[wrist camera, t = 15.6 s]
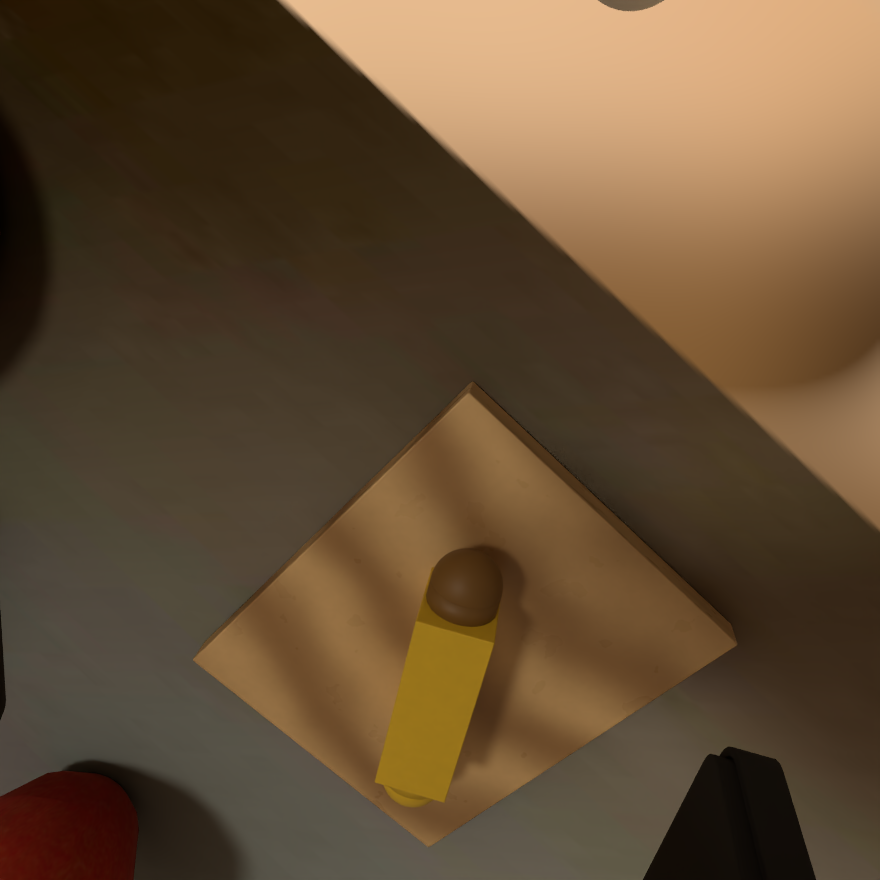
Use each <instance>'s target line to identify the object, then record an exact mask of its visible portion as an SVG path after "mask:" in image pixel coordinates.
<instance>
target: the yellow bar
mask: <svg viewBox="0 0 880 880" xmlns="http://www.w3.org/2000/svg"><path fill="white" fill-rule="evenodd" d="M502 593H503V578H502V575H501V572H500V569H499V568H498V566H497V564H496V563H495V561H494V560H493V559H492V558H491V557H489V556H488V555H487V554H485V553H484V552H482V551H479V550H476V549H472V548H462V549H456V550H453V551H451V552H449V553H448V554H446V555H445V556H443V557H442V558H441V559H440V560H439V561H438V563H437V564H436V566H435V567H432V568H431V572H430V575H429V578H428V582H427V585H426V588H425V592H424V595H423V598H422V602H421V605H420V608H419V612H418V615H417V618H416V622H415V626H414V630H413V633H412V637H411V641H410V645H409V649H408V653H407V657H406V661H405V665H404V669H403V673H402V676H401V680H400V684H399V688H398V692H397V696H396V700H395V704H394V708H393V712H392V716H391V719H390V723H389V727H388V731H387V735H386V739H385V743H384V747H383V751H382V755H381V759H380V762H379V766H378V770H377V774H376V778H375V783H378V784H382V785H384V788H385V790H386V792H387V793H388V795H389V796H390V797H391V798H392V799H393V800H394V801H395V802H397V803H398V804H400V805H402V806H405V807H421V806H424V805H426V804H428V803H430V802H431V801H433V800H437V801H440V802H443V803H444V802H445V800H446V797H447V794H448V791H449V787H450V784H451V781H452V778H453V775H454V771H455V768H456V765H457V762H458V759H459V756H460V752H461V749H462V746H463V743H464V740H465V737H466V733H467V730H468V727H469V724H470V721H471V717H472V714H473V711H474V708H475V705H476V702H477V698H478V695H479V692H480V689H481V686H482V682H483V679H484V676H485V673H486V670H487V667H488V663H489V660H490V657H491V654H492V651H493V648H494V644H495V638H496V630H497V623H498V616H499V608H500V601H501V597H502Z"/></svg>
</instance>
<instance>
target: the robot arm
mask: <svg viewBox="0 0 880 880" xmlns="http://www.w3.org/2000/svg"><path fill="white" fill-rule="evenodd" d="M5 704H6V695H5V678H4V662H3V645H2V628H1V612H0V719H1V717H2V714H3V712H4V709H5ZM643 880H816V878H815V875H814V871H813V868H812V865H811V861H810V858H809V855H808V851H807V848H806V845H805V842H804V838H803V835H802V832H801V828H800V825H799V822H798V818H797V815H796V812H795V808H794V805H793V802H792V799H791V795H790V792H789V789H788V785H787V782H786V779H785V775H784V772H783V770H782V767H781V765H780V763H779V762H778V761H777V760H776V759H773V758H769V757H766V756H762V755H759V754H755V753H751V752H748V751H744V750H741V749H737V748H734V747H727V748H725V749H724V750H723V752H722V753H721V754H720V756H717V755H713V754H709V755H708V756H707V757H706V758H705V760H704V762H703V763H702V765H701V767H700V769H699V771H698V773H697V775H696V777H695V779H694V781H693V783H692V785H691V787H690V789H689V791H688V793H687V795H686V797H685V799H684V801H683V803H682V804H681V806H680V808H679V810H678V812H677V814H676V816H675V818H674V820H673V822H672V824H671V826H670V828H669V830H668V832H667V834H666V836H665V838H664V840H663V842H662V843H661V845H660V847H659V849H658V851H657V853H656V855H655V857H654V859H653V861H652V863H651V865H650V867H649V869H648V871H647V873H646V875H645V877H644V879H643Z"/></svg>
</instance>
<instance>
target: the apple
mask: <svg viewBox="0 0 880 880" xmlns="http://www.w3.org/2000/svg"><path fill="white" fill-rule="evenodd" d="M138 832H139V827H138V818H137V812H136V810H135V808H134V806H133V804H132V803H131V801H130V799H129V797H128V795H127V793H126V792H125V791H124V790H123V788H122V787H121V786H120V785H119V784H118V783H116V782H115V781H113V780H112V779H110V778H109V777H106V776H103V775H100V774H96V773H85V772H74V771H60V772H52V773H47V774H45V775H43V776H41V777H39V778H37V779H35V780H33V781H31V782H29V783H27V784H25V785H23V786H21V787H19V788H17V789H15V790H13V791H11V792H9V793H7V794H5V795H3V796H1V797H0V880H133V878H134V869H135V859H136V850H137V841H138Z"/></svg>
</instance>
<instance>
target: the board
mask: <svg viewBox="0 0 880 880" xmlns="http://www.w3.org/2000/svg"><path fill="white" fill-rule="evenodd" d="M462 548H472V549H476V550H479V551H482V552H484V553H485V554H487V555H488V556H489V557H491V558H492V559H493V560H494V561H495V563H496V564H497V566H498V568H499V569H500V572H501V575H502V578H503V593H502V597H501V601H500V608H499V616H498V623H497V630H496V638H495V644H494V648H493V651H492V654H491V657H490V660H489V663H488V667H487V670H486V673H485V676H484V679H483V682H482V686H481V689H480V692H479V695H478V698H477V702H476V705H475V708H474V711H473V714H472V717H471V721H470V724H469V727H468V730H467V733H466V737H465V740H464V743H463V746H462V749H461V752H460V756H459V759H458V762H457V765H456V768H455V771H454V775H453V778H452V781H451V784H450V787H449V791H448V794H447V797H446V800H445V802H444V803H443V802H440V801H437V800H433V801H431V802H430V803H428V804H426V805H424V806H421V807H405V806H402V805H400V804H398V803H397V802H395V801H394V800H393V799H392V798H391V797H390V796H389V795H388V793H387V792H386V790H385V788H384V785H382V784H378V783H375V778H376V774H377V770H378V766H379V762H380V759H381V755H382V751H383V747H384V743H385V739H386V735H387V731H388V727H389V723H390V719H391V716H392V712H393V708H394V704H395V700H396V696H397V692H398V688H399V684H400V680H401V676H402V673H403V669H404V665H405V661H406V657H407V653H408V649H409V645H410V641H411V637H412V633H413V630H414V626H415V622H416V618H417V615H418V612H419V608H420V605H421V602H422V598H423V595H424V592H425V588H426V585H427V582H428V578H429V575H430V572H431V568H432V567H435V566H436V564H437V563H438V561H439V560H440V559H441V558H442V557H443V556H445V555H446V554H448V553H449V552H451V551H453V550H456V549H462ZM736 645H737V641H736V638H735V635H734V632H733V629H732V626H731V624H730V623H729V622H728V621H727V620H726V619H725V618H724V617H723V616H722V615H721V614H720V613H719V612H718V611H717V610H715V609H714V608H713V607H712V606H711V605H710V604H709V603H708V602H707V601H706V600H705V599H704V598H703V597H702V596H701V595H700V594H698V593H697V592H696V591H695V590H694V589H693V588H692V587H691V586H690V585H689V584H688V583H687V582H686V581H685V580H684V579H683V578H681V577H680V576H679V575H678V574H677V573H676V572H675V571H674V570H673V569H672V568H671V567H670V566H669V565H668V564H667V563H666V562H664V561H663V560H662V559H661V558H660V557H659V556H658V555H657V554H656V553H655V552H654V551H653V550H652V549H651V548H650V547H649V546H647V545H646V544H645V543H644V542H643V541H642V540H641V539H640V538H639V537H638V536H637V535H636V534H635V533H634V532H633V531H632V530H630V529H629V528H628V527H627V526H626V525H625V524H624V523H623V522H622V521H621V520H620V519H619V518H618V517H617V516H616V515H614V514H613V513H612V512H611V511H610V510H609V509H608V508H607V507H606V506H605V505H604V504H603V503H602V502H601V501H600V500H599V499H597V498H596V497H595V496H594V495H593V494H592V493H591V492H590V491H589V490H588V489H587V488H586V487H585V486H584V485H583V484H582V483H580V482H579V481H578V480H577V479H576V478H575V477H574V476H573V475H572V474H571V473H570V472H569V471H568V470H567V469H566V468H565V467H563V466H562V465H561V464H560V463H559V462H558V461H557V460H556V459H555V458H554V457H553V456H552V455H551V454H550V453H549V452H548V451H546V450H545V449H544V448H543V447H542V446H541V445H540V444H539V443H538V442H537V441H536V440H535V439H534V438H533V437H532V436H531V435H529V434H528V433H527V432H526V431H525V430H524V429H523V428H522V427H521V426H520V425H519V424H518V423H517V422H516V421H515V420H514V419H512V418H511V417H510V416H509V415H508V414H507V413H506V412H505V411H504V410H503V409H502V408H501V407H500V406H499V405H498V404H496V403H495V402H494V401H493V400H492V399H491V398H490V397H489V396H488V395H487V394H486V393H485V392H484V391H483V390H482V389H481V388H479V387H478V386H477V385H476V384H475V383H474V382H471V383H470V384H469V385H468V386H467V387H466V388H465V389H464V390H463V391H462V392H461V393H460V394H458V395H457V396H456V397H455V398H454V399H453V400H452V401H451V402H450V403H449V404H448V405H447V406H446V407H445V408H444V409H443V410H442V411H441V412H440V413H439V414H438V415H437V416H436V417H435V418H434V419H433V420H432V421H431V422H430V423H429V424H428V425H427V426H426V427H425V428H424V429H423V430H422V431H421V432H420V433H418V434H417V435H416V436H415V437H414V438H413V439H412V440H411V441H410V442H409V443H408V444H407V445H406V446H405V447H404V448H403V449H402V450H401V451H400V452H399V453H398V454H397V455H396V456H395V457H394V458H393V459H392V460H391V461H390V462H389V463H388V464H387V465H386V466H385V467H384V468H383V469H382V470H381V471H379V472H378V473H377V474H376V475H375V476H374V477H373V478H372V479H371V480H370V481H369V482H368V483H367V484H366V485H365V486H364V487H363V488H362V489H361V490H360V491H359V492H358V493H357V494H356V495H355V496H354V497H353V498H352V499H351V500H350V501H349V502H348V503H347V504H346V505H345V506H344V507H343V508H342V509H341V510H339V511H338V512H337V513H336V514H335V515H334V516H333V517H332V518H331V519H330V520H329V521H328V522H327V523H326V524H325V525H324V526H323V527H322V528H321V529H320V530H319V531H318V532H317V533H316V534H315V535H314V536H313V537H312V538H311V539H310V540H309V541H308V542H307V543H306V544H305V545H304V546H303V547H302V548H300V549H299V550H298V551H297V552H296V553H295V554H294V555H293V556H292V557H291V558H290V559H289V560H288V561H287V562H286V563H285V564H284V565H283V566H282V567H281V568H280V569H279V570H278V571H277V572H276V573H275V574H274V575H273V576H272V577H271V578H270V579H269V580H268V581H267V582H266V583H265V584H264V585H263V586H262V587H260V588H259V589H258V590H257V591H256V592H255V593H254V594H253V595H252V596H251V597H250V598H249V599H248V600H247V601H246V602H245V603H244V604H243V605H242V606H241V607H240V608H239V609H238V610H237V611H236V612H235V613H234V614H233V615H232V616H231V617H230V618H229V619H228V620H227V621H226V622H225V623H224V624H223V625H222V626H220V627H219V628H218V629H217V630H216V631H215V632H214V633H213V634H212V635H211V636H210V637H209V638H208V639H207V640H206V641H205V642H204V644H203V645H202V647H201V648H200V650H199V651H198V653H197V654H196V655H195V657H194V658H193V661H194V662H196V663H197V664H198V665H199V666H201V667H202V668H203V669H204V670H206V671H207V672H208V673H209V674H211V675H212V676H213V677H215V678H216V679H217V680H218V681H220V682H221V683H222V684H223V685H225V686H226V687H227V688H228V689H230V690H231V691H232V692H233V693H235V694H236V695H237V696H238V697H240V698H241V699H242V700H244V701H245V702H246V703H247V704H249V705H250V706H251V707H252V708H254V709H255V710H256V711H257V712H259V713H260V714H261V715H262V716H264V717H265V718H266V719H267V720H269V721H270V722H271V723H273V724H274V725H275V726H276V727H278V728H279V729H280V730H281V731H283V732H284V733H285V734H286V735H288V736H289V737H290V738H291V739H293V740H294V741H295V742H296V743H298V744H299V745H300V746H301V747H303V748H304V749H305V750H307V751H308V752H309V753H310V754H312V755H313V756H314V757H315V758H317V759H318V760H319V761H320V762H322V763H323V764H324V765H325V766H327V767H328V768H329V769H330V770H332V771H333V772H334V773H336V774H337V775H338V776H339V777H341V778H342V779H343V780H344V781H346V782H347V783H348V784H349V785H351V786H352V787H353V788H354V789H356V790H357V791H358V792H359V793H361V794H362V795H363V796H365V797H366V798H367V799H368V800H370V801H371V802H372V803H373V804H375V805H376V806H377V807H378V808H380V809H381V810H382V811H383V812H385V813H386V814H387V815H388V816H390V817H391V818H392V819H394V820H395V821H396V822H397V823H399V824H400V825H401V826H402V827H404V828H405V829H406V830H407V831H409V832H410V833H411V834H412V835H414V836H415V837H416V838H417V839H419V840H420V841H421V842H422V843H424V844H425V845H426V846H428V847H430V846H431V845H433V844H435V843H436V842H438V841H439V840H441V839H442V838H444V837H445V836H447V835H448V834H450V833H451V832H453V831H454V830H456V829H457V828H459V827H460V826H462V825H463V824H465V823H467V822H468V821H470V820H471V819H473V818H474V817H476V816H477V815H479V814H480V813H482V812H483V811H485V810H486V809H488V808H489V807H491V806H492V805H494V804H496V803H497V802H499V801H500V800H502V799H503V798H505V797H506V796H508V795H509V794H511V793H512V792H514V791H515V790H517V789H518V788H520V787H521V786H523V785H524V784H526V783H528V782H529V781H531V780H532V779H534V778H535V777H537V776H538V775H540V774H541V773H543V772H544V771H546V770H547V769H549V768H550V767H552V766H553V765H555V764H557V763H558V762H560V761H561V760H563V759H564V758H566V757H567V756H569V755H570V754H572V753H573V752H575V751H576V750H578V749H579V748H581V747H582V746H584V745H585V744H587V743H589V742H590V741H592V740H593V739H595V738H596V737H598V736H599V735H601V734H602V733H604V732H605V731H607V730H608V729H610V728H611V727H613V726H614V725H616V724H618V723H619V722H621V721H622V720H624V719H625V718H627V717H628V716H630V715H631V714H633V713H634V712H636V711H637V710H639V709H640V708H642V707H643V706H645V705H646V704H648V703H650V702H651V701H653V700H654V699H656V698H657V697H659V696H660V695H662V694H663V693H665V692H666V691H668V690H669V689H671V688H672V687H674V686H675V685H677V684H679V683H680V682H682V681H683V680H685V679H686V678H688V677H689V676H691V675H692V674H694V673H695V672H697V671H698V670H700V669H701V668H703V667H704V666H706V665H707V664H709V663H711V662H712V661H714V660H715V659H717V658H718V657H720V656H721V655H723V654H724V653H726V652H727V651H729V650H730V649H732V648H733V647H735V646H736Z"/></svg>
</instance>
